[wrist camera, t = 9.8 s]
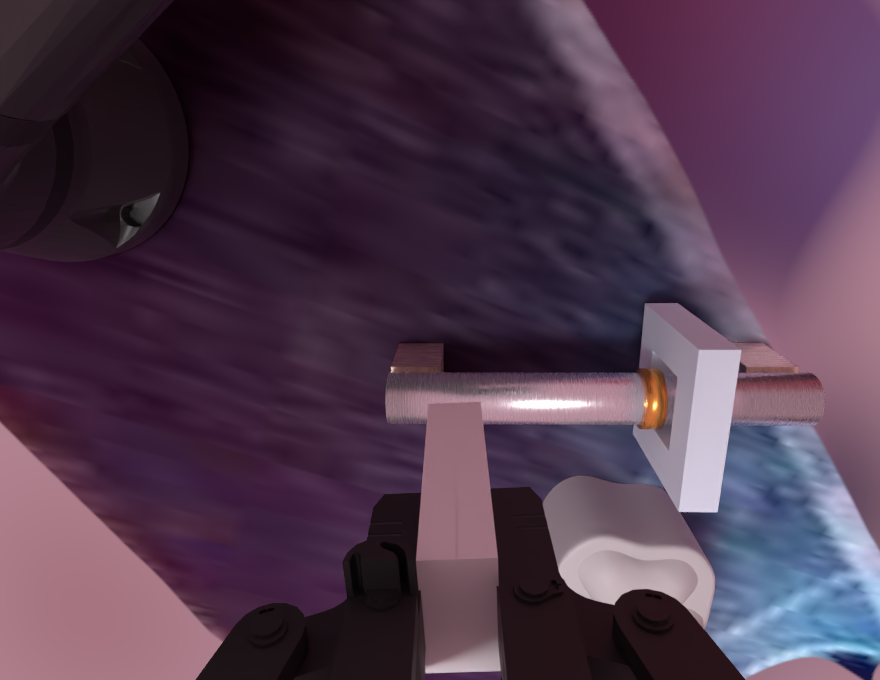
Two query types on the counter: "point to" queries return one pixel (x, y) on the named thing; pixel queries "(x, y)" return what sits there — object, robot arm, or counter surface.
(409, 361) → the pipe rig
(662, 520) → the lumpy-topped squat cylinder
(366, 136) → the counter surface
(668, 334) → the white square holed plate
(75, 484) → the counter surface
